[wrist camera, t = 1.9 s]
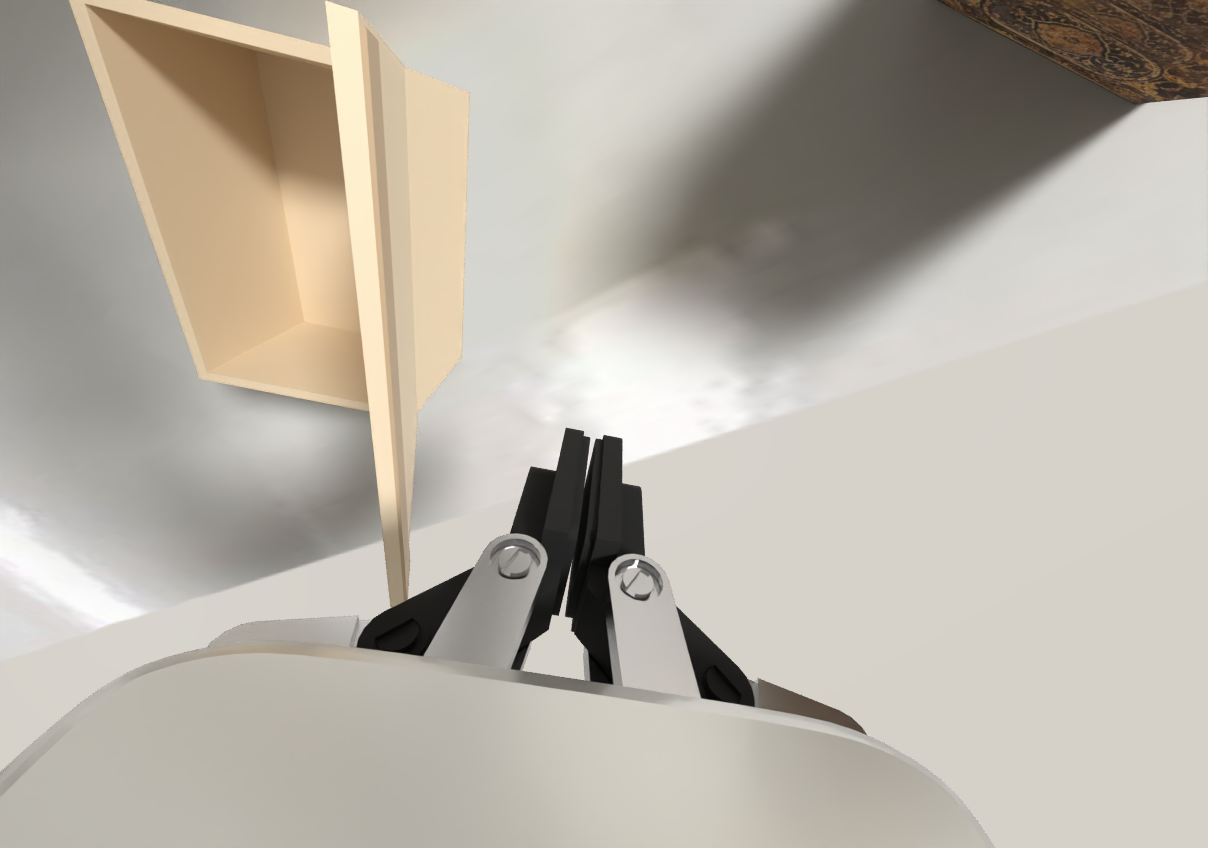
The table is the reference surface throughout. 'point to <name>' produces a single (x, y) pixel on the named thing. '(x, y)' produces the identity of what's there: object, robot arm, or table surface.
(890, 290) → the table surface
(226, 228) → the carton
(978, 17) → the book
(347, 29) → the lid
